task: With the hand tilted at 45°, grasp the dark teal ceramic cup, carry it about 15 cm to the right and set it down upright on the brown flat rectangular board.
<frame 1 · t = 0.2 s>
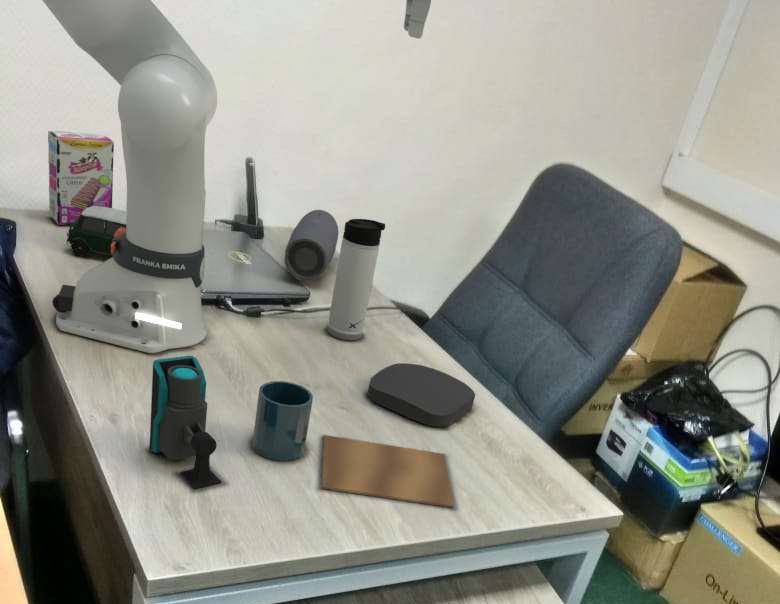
hand: (411, 34, 107), 48 cm above the table, tool pointing down, fingers open, 8 cm apart
miniature car: (119, 257, 151), on the table
surveillance camera: (187, 466, 99), on the table
travel mug: (345, 334, 143), on the table
cup: (278, 447, 107), on the table
brown flat rectangular board: (385, 471, 107), on the table
media streaming box: (419, 402, 127), on the table
bluetooth speaker: (308, 270, 168), on the table
candy bar box: (81, 223, 163), on the table
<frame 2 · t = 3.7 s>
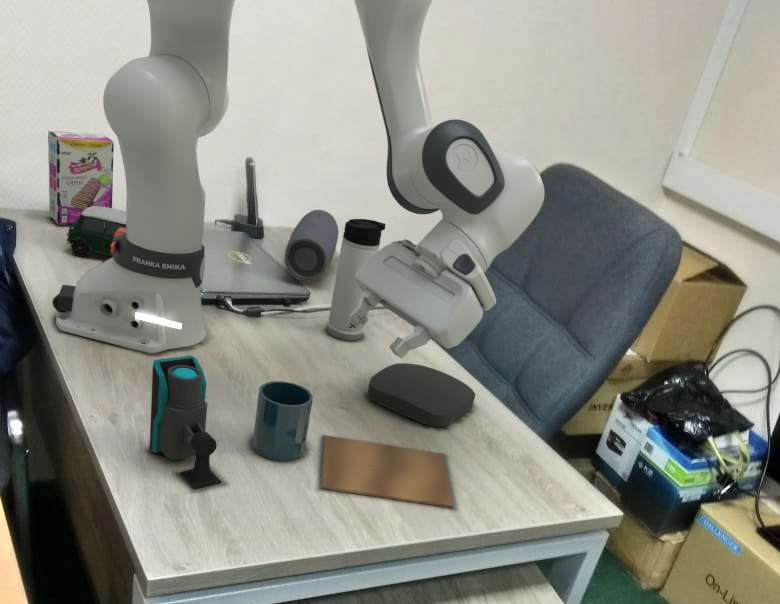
hand: (373, 337, 106), 15 cm above the table, tool tilted 45°, fingers open, 8 cm apart
nothing on the table moved.
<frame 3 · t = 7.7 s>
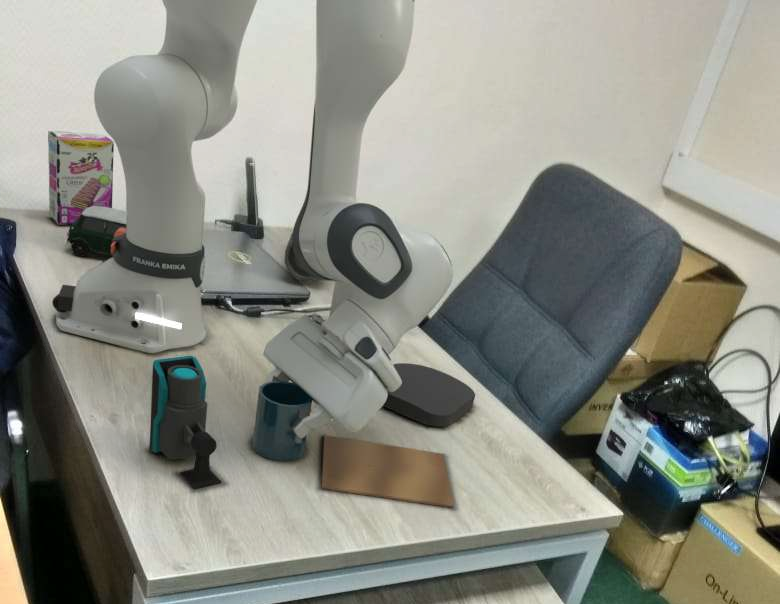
hand: (278, 417, 104), 5 cm above the table, tool tilted 45°, fingers closed on cup, 7 cm apart
cup: (278, 447, 107), on the table, touching gripper
everything else where it was.
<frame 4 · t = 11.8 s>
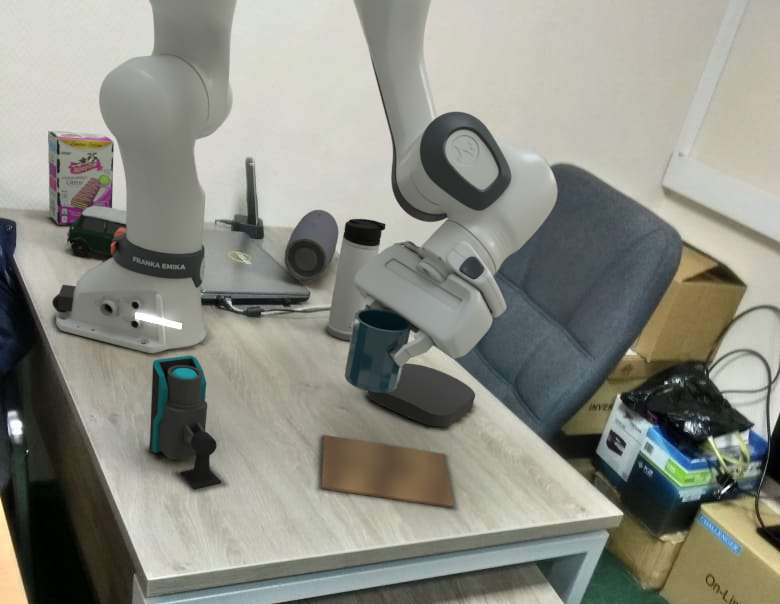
hand: (374, 346, 98), 17 cm above the table, tool tilted 45°, fingers closed on cup, 7 cm apart
cup: (371, 380, 101), point 12 cm above the table, touching gripper
everything else where it was.
when the fingers open (5 cm above the table, at t = 16.2 s): cup stays where it is, resting on brown flat rectangular board.
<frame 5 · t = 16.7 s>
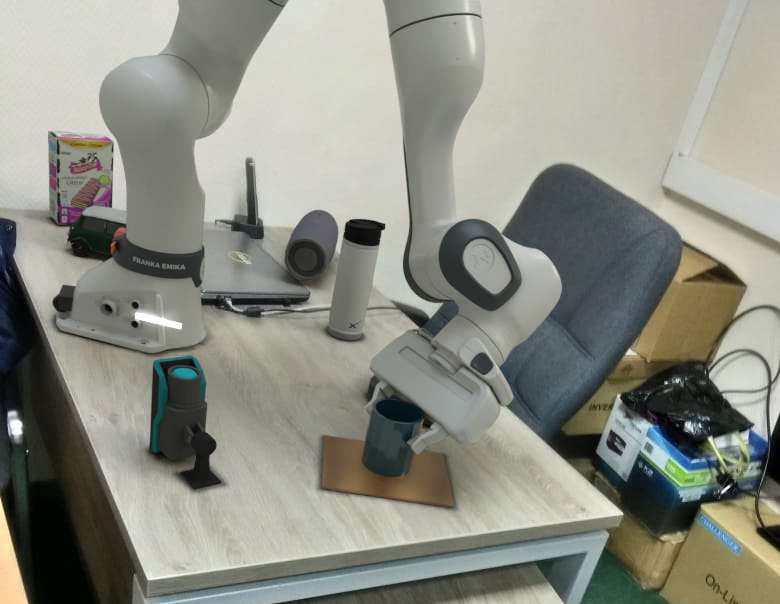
hand: (389, 431, 105), 5 cm above the table, tool tilted 45°, fingers open, 8 cm apart
cup: (386, 463, 108), resting on brown flat rectangular board
everything else where it was.
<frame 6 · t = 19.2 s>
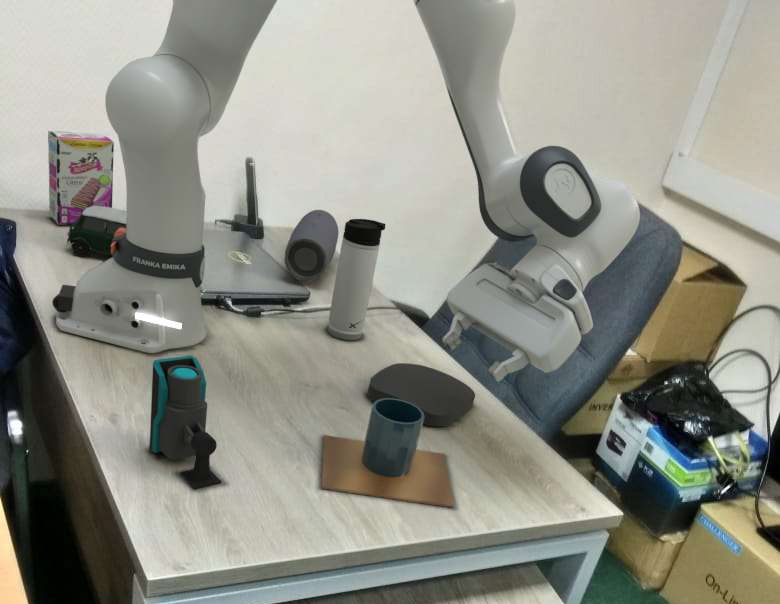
hand: (469, 360, 106), 14 cm above the table, tool tilted 45°, fingers open, 8 cm apart
nothing on the table moved.
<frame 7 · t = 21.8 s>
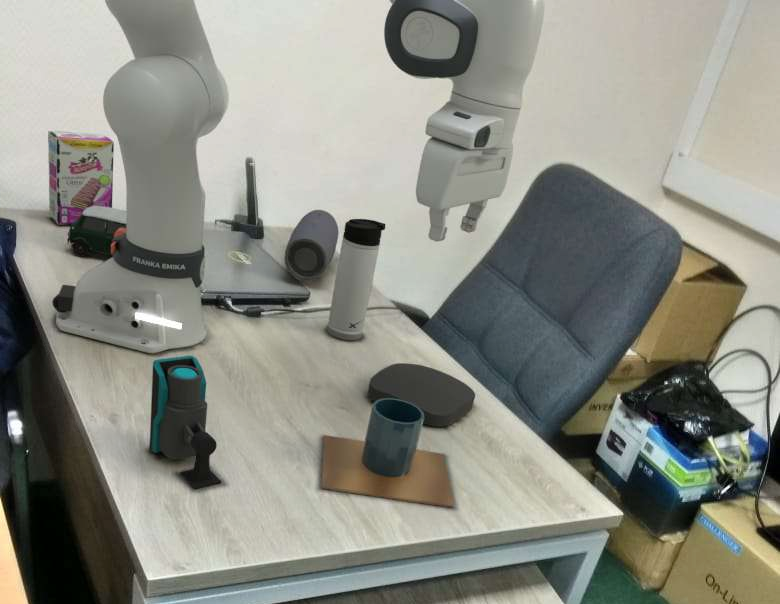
hand: (452, 235, 108), 27 cm above the table, tool pointing down, fingers open, 8 cm apart
nothing on the table moved.
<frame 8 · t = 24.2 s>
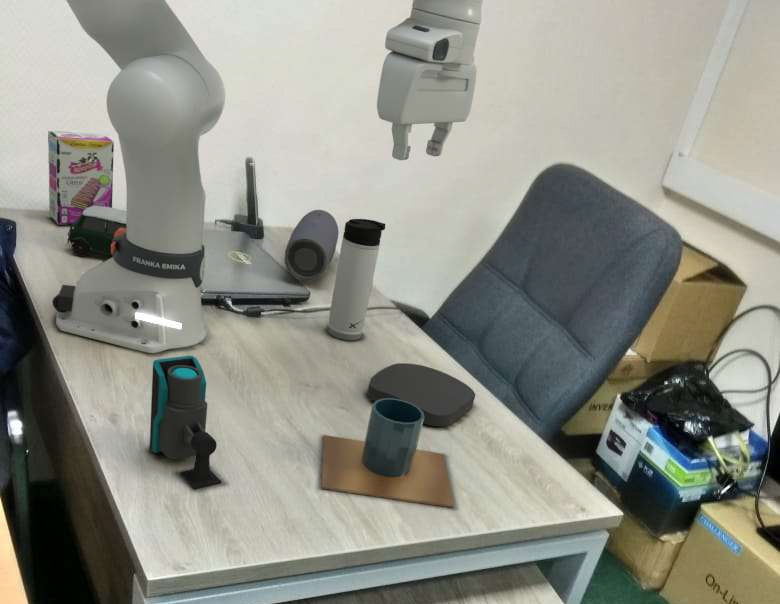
hand: (416, 157, 110), 34 cm above the table, tool pointing down, fingers open, 8 cm apart
nothing on the table moved.
at the end: cup inside the target area (0.7 cm from its centre), resting on brown flat rectangular board; cup tilted 0°; the gripper is holding nothing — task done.
